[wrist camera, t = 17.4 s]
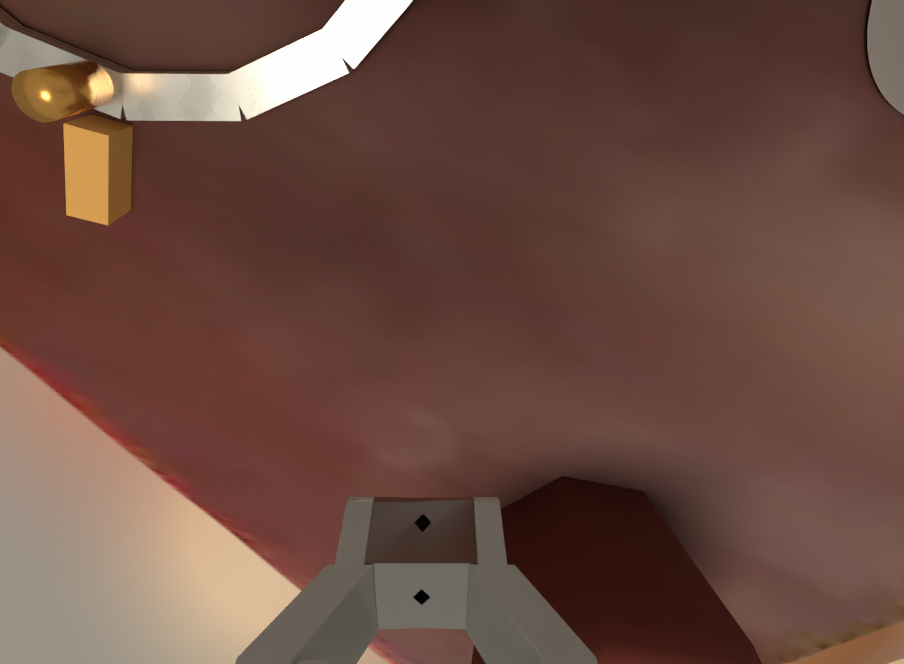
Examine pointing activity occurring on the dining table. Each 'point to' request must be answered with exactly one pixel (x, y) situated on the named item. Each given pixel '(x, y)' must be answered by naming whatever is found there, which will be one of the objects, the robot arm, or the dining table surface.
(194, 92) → the ring
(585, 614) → the bucket
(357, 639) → the robot arm
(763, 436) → the dining table surface
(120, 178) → the pointer block
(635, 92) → the dining table surface
